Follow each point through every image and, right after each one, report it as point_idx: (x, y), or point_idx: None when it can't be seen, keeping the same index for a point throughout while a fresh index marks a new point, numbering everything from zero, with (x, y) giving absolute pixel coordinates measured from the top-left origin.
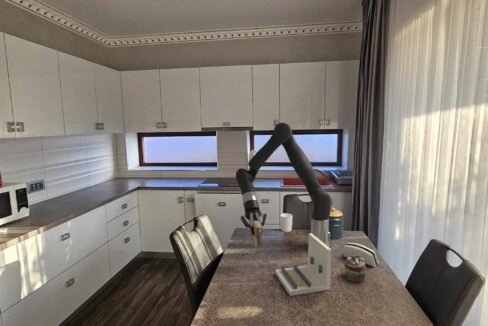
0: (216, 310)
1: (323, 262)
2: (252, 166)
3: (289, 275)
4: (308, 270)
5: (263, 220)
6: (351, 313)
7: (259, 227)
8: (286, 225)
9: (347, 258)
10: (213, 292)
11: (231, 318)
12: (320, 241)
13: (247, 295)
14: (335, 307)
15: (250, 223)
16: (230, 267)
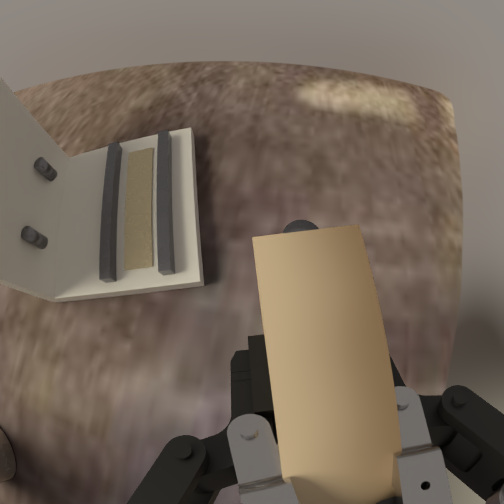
0: (420, 112)
1: (26, 140)
2: None
3: (157, 194)
4: (69, 255)
5: (173, 492)
6: (87, 89)
7: (295, 232)
8: None
9: None
10: (452, 188)
11: (377, 82)
12: None
13: (342, 153)
14: (103, 101)
15: (425, 424)
16: (414, 367)
